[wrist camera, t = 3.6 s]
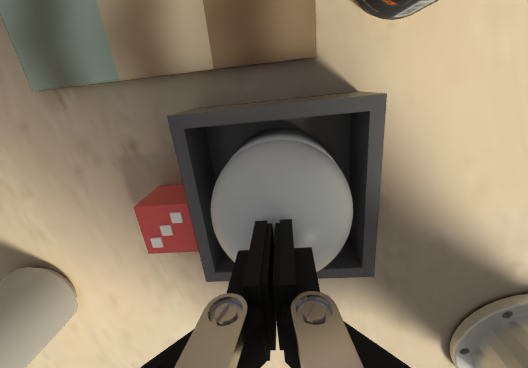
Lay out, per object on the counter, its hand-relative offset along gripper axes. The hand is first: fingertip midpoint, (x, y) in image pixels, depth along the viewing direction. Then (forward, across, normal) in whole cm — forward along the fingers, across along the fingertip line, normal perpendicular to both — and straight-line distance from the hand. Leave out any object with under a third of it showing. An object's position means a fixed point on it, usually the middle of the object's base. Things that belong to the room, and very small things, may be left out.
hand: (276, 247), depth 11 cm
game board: (+10, +7, -13) cm, 18 cm away
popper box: (+10, +2, 0) cm, 10 cm away
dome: (+8, 0, 0) cm, 8 cm away
